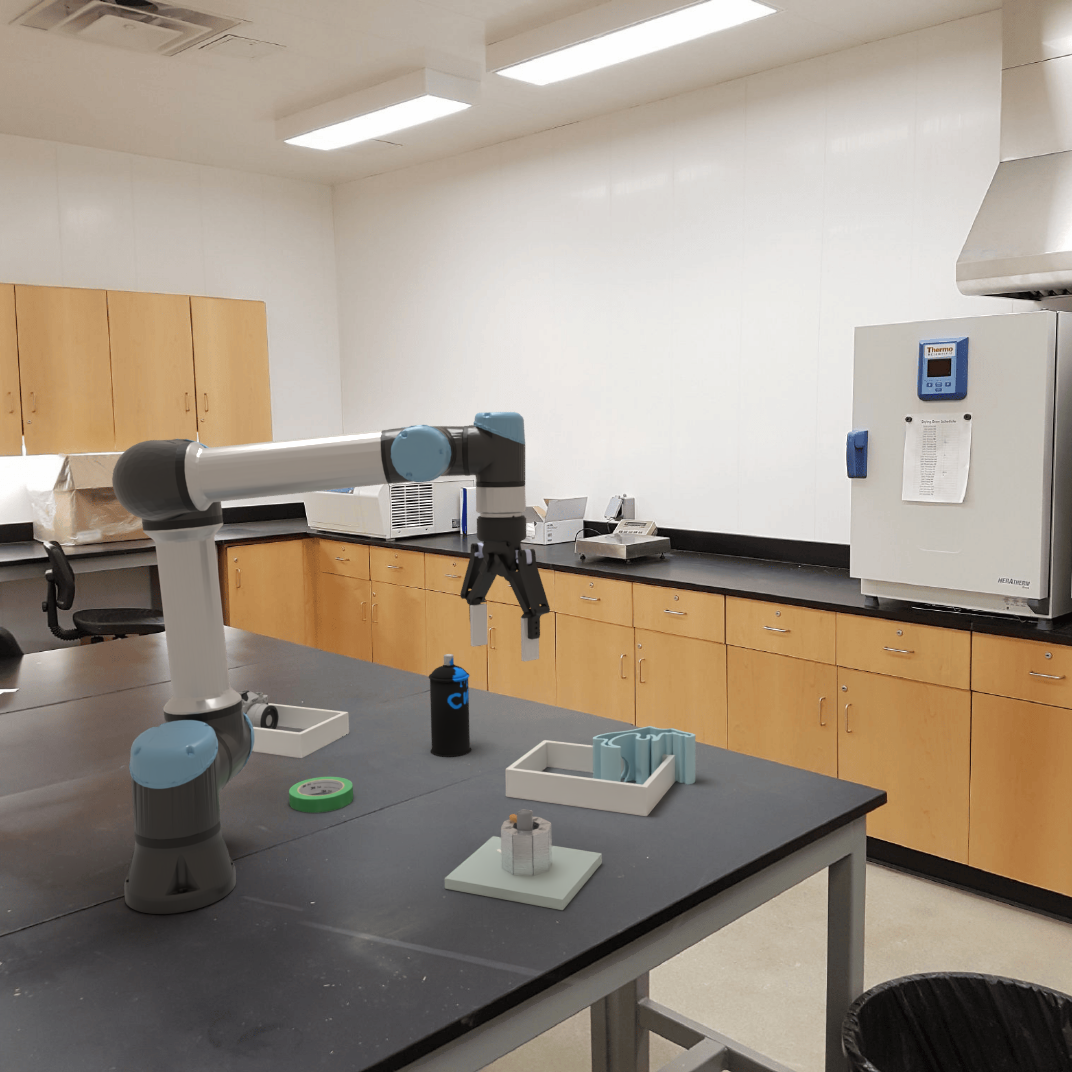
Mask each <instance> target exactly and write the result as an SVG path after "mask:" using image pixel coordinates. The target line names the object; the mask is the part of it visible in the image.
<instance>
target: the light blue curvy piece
mask: <svg viewBox="0 0 1072 1072" xmlns="http://www.w3.org/2000/svg"><path fill="white" fill-rule="evenodd" d="M592 746H593V773H592V778H594V779H602V780H609V781H617V782H622V779H624V780H623V782H625V783H628V782H630V781H635V784H641V785H643V784H644V783H645V782H646V781H647V779H648V778H649V777H650V776H651V775H652V774H653V773H654V772H655V771H656V769H657V768H658V767H659V766H660V765H661V764H662V755H663V754H666V755H675V782H678V783H680V784H683V783H684V785H693V784H695V782H696V734H695V733H692V732H688V731H683V730H680V729H676V728H673V727H671V728H658V727H656V726H651V725H648V726H644V727H639V728H635V729H630V730H629V729H628V730H623V731H614V732H613V731H612V732H611V731H610V732H606V733H601V734H598V735H595V736H593V737H592ZM621 757H622V759H623V761H624V769H623V772H622V774H621Z"/></svg>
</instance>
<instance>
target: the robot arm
mask: <svg viewBox="0 0 1072 1072" xmlns="http://www.w3.org/2000/svg"><path fill="white" fill-rule="evenodd" d="M112 471H113V472H112V477H111V479H112V481H111V482H112V488H113V492H114V495H115V497H116V499H117V501H118V503H119V504H120V505H121V506H122V507H123V509H125V510H126V511H127V512H128V513H130V514H131V515H133V516H135V517H137V518H139V519H141V524H142V532H143V534H145V535H146V536H147V537H149V538H150V539H152V540H153V542H154V543H155V551H156V559H157V560H156V562H157V569H158V579H159V585H160V595H161V603H162V615H163V620H164V621H163V622H164V629H165V630H164V632H165V640H166V648H167V649H166V650H167V656H168V667H169V673H170V675H169V676H170V683H171V684H170V685H171V693H172V695H171V697H170V698H169V699H168V701H167V702H166V703H165V705H163V715H164V723H160V724H159V726H152V727H149V728H147V729H146V730H144V731H143V732H141V733H139V735H138V736H136V738H135V739H134V740H133V742H132V744H131V747H130V759H129V765H128V766H129V767H128V768H129V775H130V783H131V784H130V786H131V796H132V799H131V800H132V801H131V802H132V814H133V815H132V816H133V828H134V848H133V852H132V856H131V859H130V864H129V867H128V872H127V873H128V874H127V875H126V877H125V880H124V888H123V889H124V902H125V903H126V905H127V906H128V907H129V908H130V909H132V910H135V911H136V912H140V913H145V914H155V915H167V914H178V913H185V912H189V911H194V910H197V909H201V908H203V907H208V906H209V905H212V904H215V903H216V902H218V901H220V900H222V899H224V898H225V897H226V896H228V895H229V894H230V893H231V892H232V891H233V890H234V888H235V886H236V883H237V880H236V879H237V876H236V875H237V874H236V866H235V863H234V861H233V859H232V858H231V857H230V854H229V849H228V848H227V844H226V842H225V838H224V836H223V834H222V829H221V828H222V827H221V808H220V807H221V805H220V803H221V802H220V792H221V791H222V790H223V789H224V788H225V787H226V786H227V785H229V783H230V782H231V781H232V780H233V779H234V777H236V776H237V775H238V774H240V772H241V771H243V769H244V767H245V766H246V764H247V763H248V761H249V759H250V757H251V755H252V752H253V751H252V750H253V746H254V729H253V725H252V723H251V721H250V719H249V717H248V716H247V714H245V713H244V712H243V707H242V698H241V695H240V694H239V693H238V691H236V690H235V689H234V688H232V686H231V683H230V681H231V679H230V673H229V664H228V655H227V646H226V645H227V643H226V636H225V626H224V618H223V606H222V605H223V604H222V598H221V588H220V579H219V570H218V569H219V568H218V559H217V551H216V542H215V541H216V540H215V536H216V534H217V533H218V532H219V530H220V529H221V528H222V527H223V525H224V521H223V520H224V519H223V509H222V502H227V501H229V502H230V501H239V500H248V499H258V498H266V497H276V496H277V497H279V496H286V495H295V494H304V493H313V492H314V493H315V492H322V491H324V492H325V491H331V490H332V491H333V490H334V491H335V490H342V489H351V488H353V489H354V488H361V487H362V488H363V487H370V486H371V487H372V486H382V485H389V484H394V485H395V484H403V483H413V482H414V483H427V482H431V481H434V480H436V479H438V478H440V477H457V476H460V477H461V476H462V477H463V476H467V477H469V476H475V480H476V481H475V510H476V512H477V514H480V515H479V516H477V518H476V537H477V538H476V539H477V540H478V541H480V542H474V543H471V544H470V553H469V561H468V564H467V568H466V570H465V571H466V572H465V575H464V578H463V582H462V586H461V590H460V593H459V594H460V595H459V596H460V598H461V599H462V600H463V599H464V600H466V603H467V605H468V606H469V607H468V609H469V625H470V629H469V630H470V646H471V647H480V646H486V645H488V641H489V640H488V604H487V599H486V597H487V594H488V593H489V591H490V588H491V587H492V585H493V583H494V581H495V580H496V577H497V576H499V577H501V578H504V580H505V581H507V582H508V583H509V585H510V587H511V589H512V591H513V593H514V595H515V598H516V600H517V602H518V604H519V606H520V608H521V610H522V615H520V640H521V641H520V646H521V647H520V648H521V650H520V651H521V653H520V654H521V661H522V662H525V663H526V662H529V661H534V660H540V637H541V617H542V616H543V615H545V614H546V615H547V614H549V613H550V612H551V609H550V604H549V602H548V598H547V595H546V592H545V588H544V585H543V582H542V581H543V580H542V579H541V575H540V573H539V572H540V571H539V568H538V565H537V556H536V550H535V548H528V549H522V545H521V543H522V541H524V540H526V539H527V517H526V516H525V515H523V514H522V513H525V512H526V510H527V508H526V502H527V501H526V435H525V420H524V417H523V416H522V415H521V414H520V413H518V412H515V411H490V412H485V411H484V412H477V413H476V414H475V416H474V421H473V424H471V425H464V426H457V425H456V426H451V425H449V426H447V425H440V426H439V425H438V426H436V425H428V424H416V425H410V426H403V427H398V428H389V429H379V430H378V429H377V430H370V431H361V432H350V433H341V434H330V435H320V436H319V435H318V436H311V437H310V436H309V437H302V438H291V439H282V440H271V441H263V442H262V441H261V442H254V443H253V442H252V443H245V444H244V443H242V444H234V445H232V444H231V445H223V446H215V447H209V446H207V445H206V444H204V443H201V442H198V441H195V440H192V439H188V438H184V439H183V438H174V439H153V440H145V441H141V442H137V443H136V444H134V445H132V446H130V447H129V448H127V449H126V450H125V451H124V452H123V453H121V455H120V456H119V458H118V459H117V461H116V463H115V465H114V468H113V470H112Z"/></svg>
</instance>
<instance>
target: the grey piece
mask: <svg viewBox="0 0 1072 1072" xmlns="http://www.w3.org/2000/svg"><path fill="white" fill-rule="evenodd" d="M500 837H501V863H502V869H503V870H505V871H506V872H508V873H510V874H512V875H515V876H536V875H539V874H542V873H545V872H547V871H549V870H550V867H551V864H552V846H553V844H552V843H553V842H552V822H550V821H549V820H546V819H545V818H542V817H539V816H533V830H532V831H519V830H517V814H515V813H512V814H510V815H509V819H506V820H504V821H503V823H502V825H501V827H500Z"/></svg>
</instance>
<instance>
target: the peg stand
mask: <svg viewBox="0 0 1072 1072" xmlns="http://www.w3.org/2000/svg"><path fill="white" fill-rule="evenodd" d="M516 815H517V830H519V831H532V830H533V817H534V816H533V810H531V809H524V808H522V809H520V810H518V811H516ZM602 856H603V855H602V852H595V851H588V850H582V849H576V848H570V847H563V846H557V845H552V864H551V867H550V870H549V871H547V872H545V873H542V874H539V875H536V876H515V875H512V874H510V873H508V872H506V871H505V870H503V869H502V863H501V836H496V835H493V836H491V837H490V838H489V839H488V840H486V842H485V843H483V844H482V845H481V846H480V847H478V849H476V850H475V851H474V852H473V853H472V854H470V855H469V857H467V858H466V859H465V860H464V861H462V863H460V864H459V865H458V866H457V867H456V868H455V869H453V870H452V871H451V872H450V873H449V874H448V875H447V876H445V877H444V889H446V890H450V891H457V892H461V893H468V894H472V895H479V896H483V897H484V896H485V897H487V898H488V897H489V898H494V899H499V900H505V901H511V902H516V903H521V904H526V905H531V906H532V905H533V906H537V907H538V906H539V907H542V908H543V907H544V908H548V909H549V908H550V909H553V910H559V911H563V910H564V909H565V908H566V907H567V906H568V904H569V903H570V902H571V901H572V900H573V898H574V897H576V895H577V894H578V893H579V891H580V890H581V889H582V888H583V886H584V885H585V884H586V883H587V882H588V881H589V880H590V878H591V877H592V875H594V873H595V872H596V871H597V870H598V868H599V867H600V866H601V865H602V864H603V862H602V861H603V857H602Z"/></svg>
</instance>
